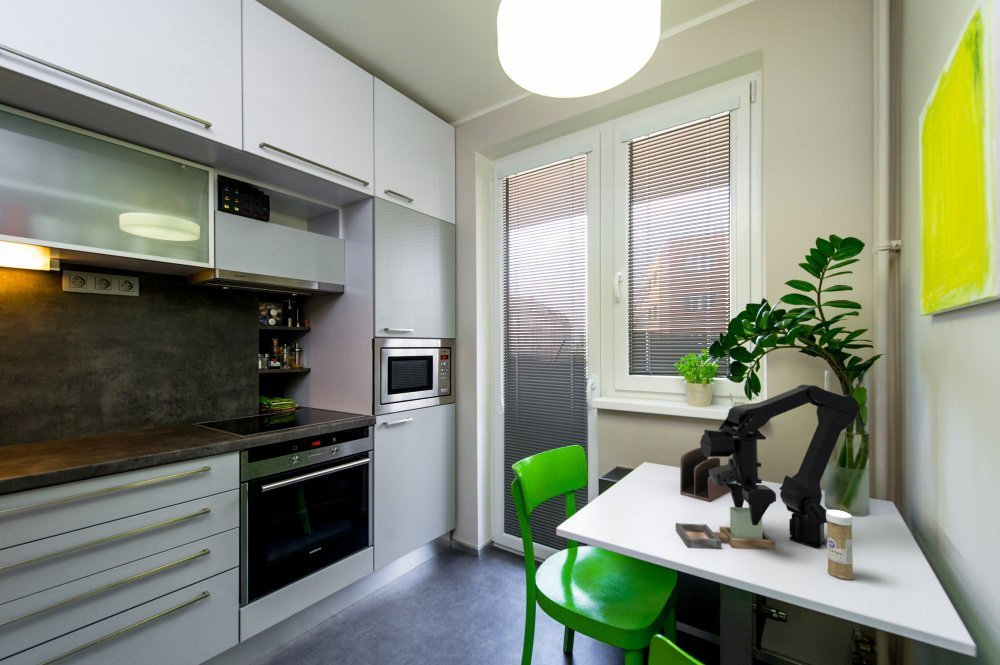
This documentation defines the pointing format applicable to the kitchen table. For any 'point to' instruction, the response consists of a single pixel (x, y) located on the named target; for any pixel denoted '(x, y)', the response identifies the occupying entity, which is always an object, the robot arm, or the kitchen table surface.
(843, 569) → the sprinkles bottle
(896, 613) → the kitchen table surface
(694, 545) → the joined double square frame
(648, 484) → the kitchen table surface
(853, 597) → the kitchen table surface
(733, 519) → the sage peg
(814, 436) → the robot arm
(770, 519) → the kitchen table surface
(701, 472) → the letter holder
